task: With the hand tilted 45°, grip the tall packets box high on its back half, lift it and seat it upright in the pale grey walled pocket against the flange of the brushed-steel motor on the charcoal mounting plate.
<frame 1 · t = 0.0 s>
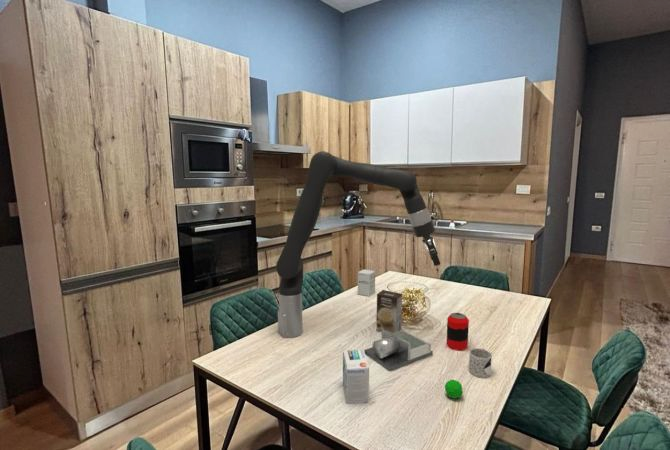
hand: (436, 262, 133), 31 cm above the table, tool tilted 20°, fingers open, 8 cm apart
coffee box: (388, 331, 147), on the table
soda can: (456, 346, 134), on the table
supplement box: (366, 294, 193), on the table
light bulb box: (355, 392, 106), on the table
mug: (480, 370, 117), on the table
motor mount: (398, 354, 128), on the table
green ball: (453, 397, 103), on the table
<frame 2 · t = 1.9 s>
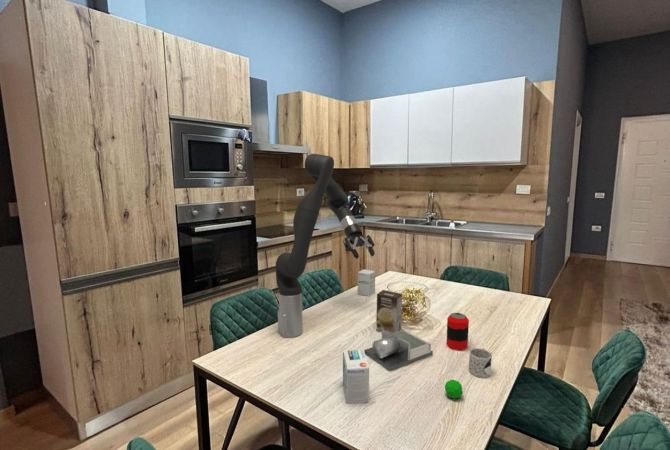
hand: (365, 256, 157), 28 cm above the table, tool tilted 45°, fingers open, 8 cm apart
nothing on the table moved.
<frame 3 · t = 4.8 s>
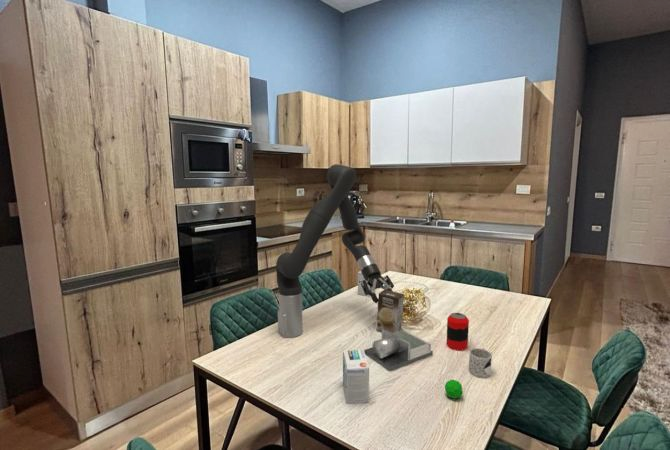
hand: (385, 300, 148), 12 cm above the table, tool tilted 45°, fingers open, 8 cm apart
coffee box: (388, 330, 147), on the table, touching gripper
everything else where it was.
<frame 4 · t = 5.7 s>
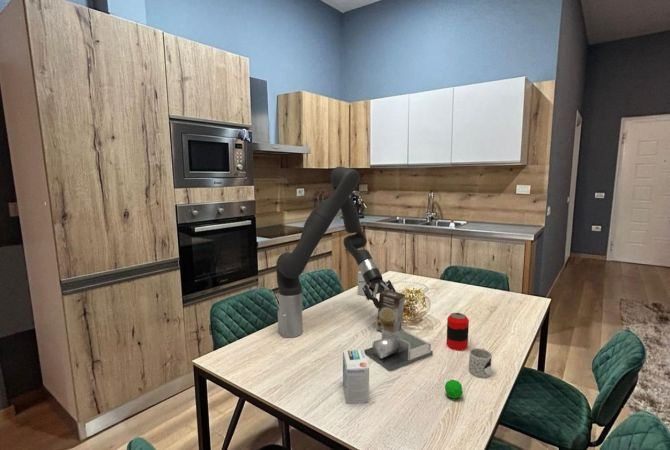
hand: (386, 305, 146), 11 cm above the table, tool tilted 45°, fingers closed on coffee box, 7 cm apart
coffee box: (388, 330, 147), on the table, touching gripper
everything else where it was.
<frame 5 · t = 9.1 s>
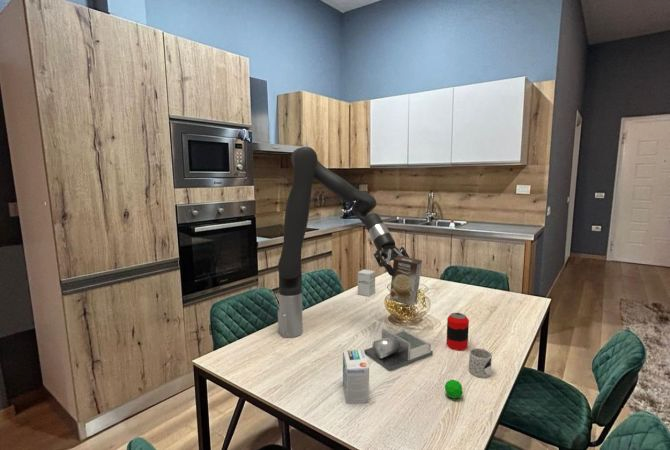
hand: (401, 273, 131), 28 cm above the table, tool tilted 45°, fingers closed on coffee box, 7 cm apart
coffee box: (403, 301, 132), point 17 cm above the table, touching gripper
everything else where it was.
when the fingers open (14 cm above the table, at t = 12.4 s): coffee box stays where it is, resting on motor mount.
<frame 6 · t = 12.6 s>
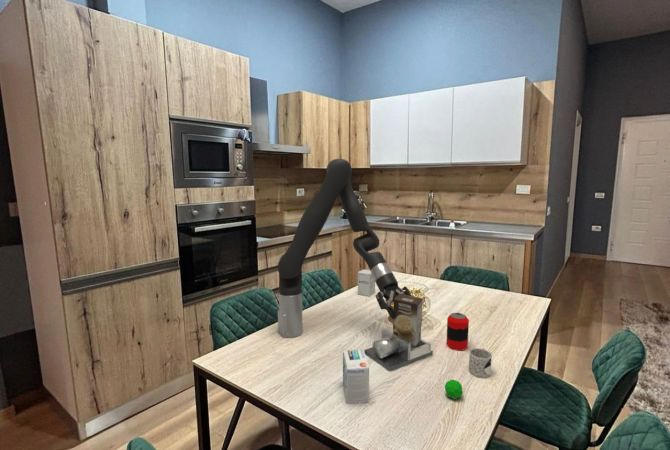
hand: (403, 315, 128), 14 cm above the table, tool tilted 45°, fingers open, 8 cm apart
coffee box: (406, 340, 129), point 4 cm above the table, touching gripper, motor mount
everything else where it was.
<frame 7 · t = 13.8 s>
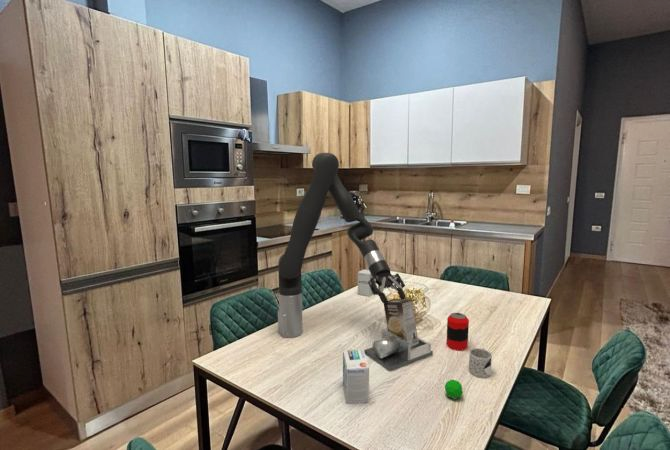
hand: (395, 301, 132), 18 cm above the table, tool tilted 45°, fingers open, 8 cm apart
coffee box: (404, 345, 129), point 3 cm above the table, touching motor mount
everything else where it was.
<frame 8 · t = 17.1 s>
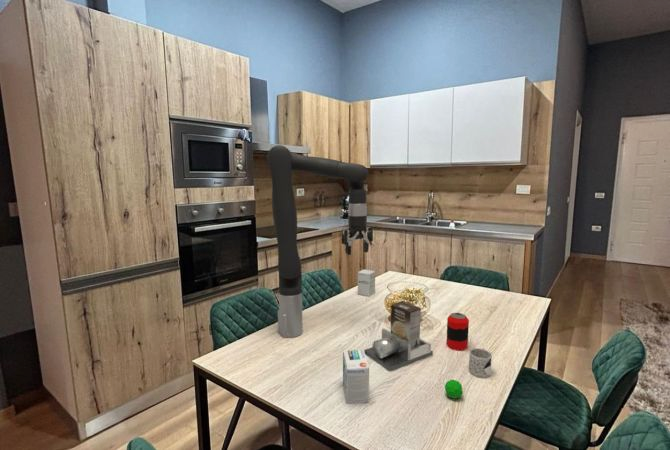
hand: (357, 253, 146), 32 cm above the table, tool pointing down, fingers open, 8 cm apart
coffee box: (404, 348, 129), point 2 cm above the table, touching motor mount
everything else where it was.
at the end: coffee box 0.6 cm from the target spot on the motor mount, point 1.5 cm above the motor mount's base; coffee box tilted 0°; the gripper is holding nothing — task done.
